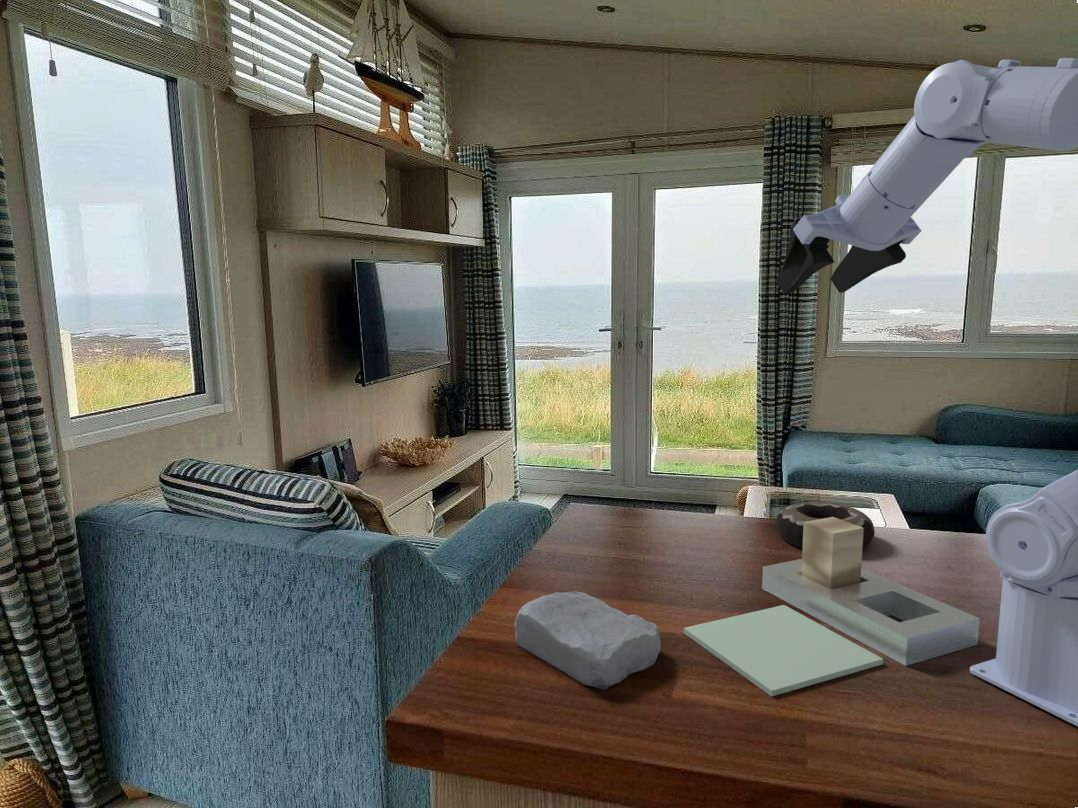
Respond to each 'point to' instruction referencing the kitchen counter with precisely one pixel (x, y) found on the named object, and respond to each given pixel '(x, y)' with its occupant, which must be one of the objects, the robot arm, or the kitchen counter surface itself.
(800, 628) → the mat
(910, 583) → the kitchen counter surface
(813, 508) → the donut
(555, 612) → the stone block
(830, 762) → the kitchen counter surface
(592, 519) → the kitchen counter surface
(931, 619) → the rail
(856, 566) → the peg
